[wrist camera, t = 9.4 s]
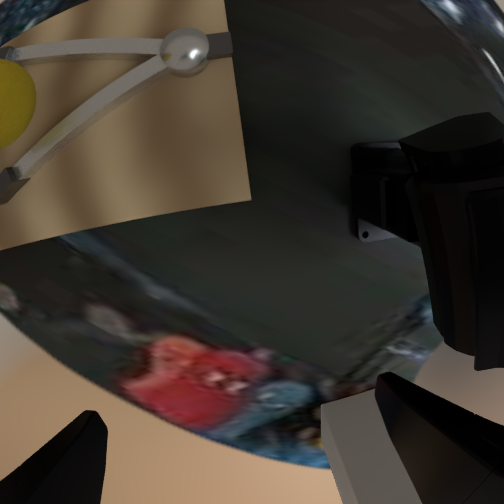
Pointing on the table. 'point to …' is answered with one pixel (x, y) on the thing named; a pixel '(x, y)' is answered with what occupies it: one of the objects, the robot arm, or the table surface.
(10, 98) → the lemon
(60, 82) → the board
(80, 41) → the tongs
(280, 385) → the table surface
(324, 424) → the milk
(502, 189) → the robot arm
